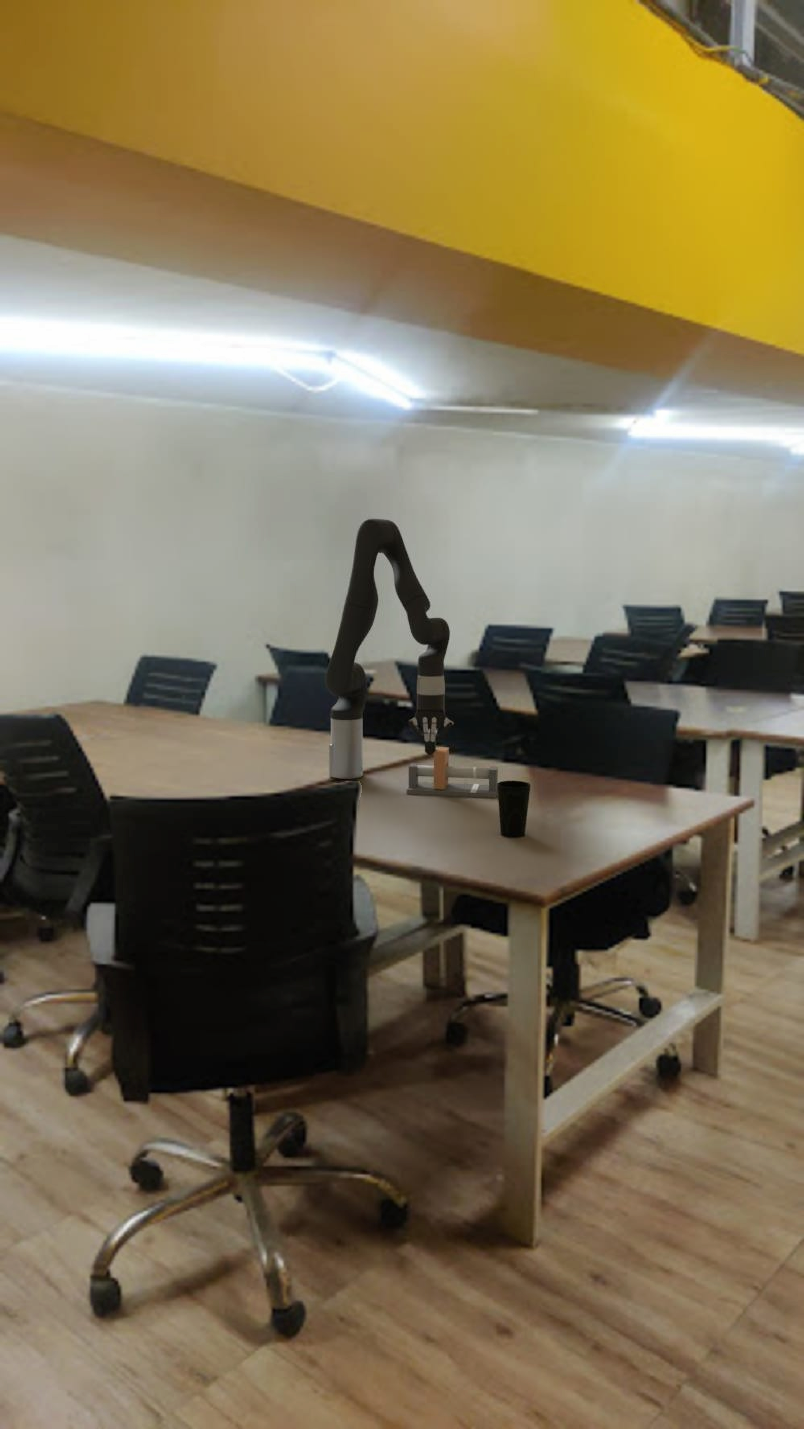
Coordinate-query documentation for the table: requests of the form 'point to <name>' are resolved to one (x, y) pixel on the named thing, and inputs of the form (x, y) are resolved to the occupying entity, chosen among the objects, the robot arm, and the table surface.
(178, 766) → the table surface
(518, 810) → the cup
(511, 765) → the table surface
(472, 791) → the pipe rail
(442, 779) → the collar
